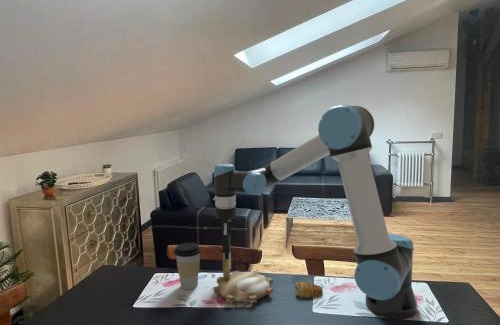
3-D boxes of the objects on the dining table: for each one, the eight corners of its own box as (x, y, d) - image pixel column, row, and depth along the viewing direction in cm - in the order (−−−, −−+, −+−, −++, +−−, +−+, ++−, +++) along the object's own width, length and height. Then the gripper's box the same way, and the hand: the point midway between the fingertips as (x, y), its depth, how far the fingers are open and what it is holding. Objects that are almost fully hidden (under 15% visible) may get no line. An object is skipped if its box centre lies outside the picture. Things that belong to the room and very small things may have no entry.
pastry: (320, 289, 124) (320, 278, 123) (324, 298, 117) (324, 288, 116) (294, 289, 124) (294, 279, 123) (296, 299, 117) (296, 288, 116)
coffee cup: (196, 293, 122) (195, 252, 120) (171, 291, 124) (169, 250, 122) (205, 280, 131) (204, 242, 129) (182, 279, 133) (180, 241, 131)
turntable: (282, 281, 127) (282, 257, 126) (258, 309, 109) (257, 282, 107) (232, 270, 137) (232, 248, 135) (202, 295, 118) (201, 270, 117)
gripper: (216, 202, 134) (218, 261, 137) (213, 211, 121) (215, 276, 124) (236, 201, 134) (237, 260, 137) (235, 210, 121) (237, 275, 124)
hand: (227, 268), depth 130 cm, fingers closed
